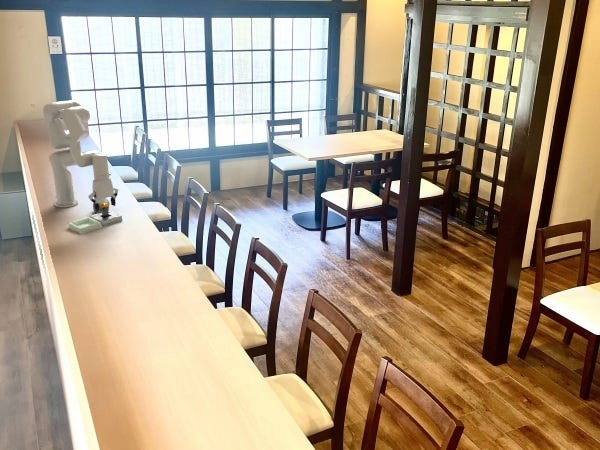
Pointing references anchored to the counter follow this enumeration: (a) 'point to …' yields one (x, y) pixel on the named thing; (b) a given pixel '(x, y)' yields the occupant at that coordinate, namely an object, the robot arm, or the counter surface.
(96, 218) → the grey slotted block
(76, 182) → the counter surface
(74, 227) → the tray
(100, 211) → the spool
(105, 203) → the pin
